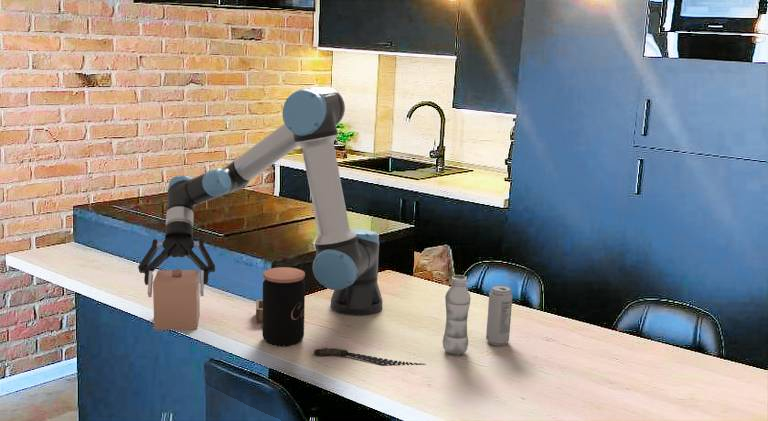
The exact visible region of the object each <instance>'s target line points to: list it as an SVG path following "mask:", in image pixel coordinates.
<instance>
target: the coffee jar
mask: <svg viewBox="0 0 768 421" xmlns="http://www.w3.org/2000/svg"><path fill="white" fill-rule="evenodd" d="M262 276H263V279H264V280H263V282H262V300H263V323H262V331H261V332H262V337H263V340H264V342H265V343H266V344H268V345H270V346H274V347H290V346H291V347H292V346H296V345H298V344H299V343H301V341H302V339H304V336H305V302H306V301H305V297H306V296H305V294H306V290H305V289H306V283H305V280H304V279H305V277H306V273H305V271H304V270H302V269H299V268H295V267H288V266H287V267H283V266H282V267H279V266H278V267H273V268H269V269H268V268H267V269H266V270H264V271H263V272H262Z"/></svg>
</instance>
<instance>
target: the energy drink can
mask: <svg viewBox="0 0 768 421" xmlns="http://www.w3.org/2000/svg"><path fill="white" fill-rule="evenodd" d="M512 307H513V293H512V290H511V287H510V286H506V285H500V284H498V285H493V286H492V287H491V290H490V291H489V293H488V306H487V308H488V309H487V319H486V320H487V321H486V333H485V335H486V336H485V339H486V340H487V343H488V344H489V345H492V346H496V347H503V346H506V345H507V344H508V342H510V334H511V333H510V332H511V321H512V309H513V308H512Z"/></svg>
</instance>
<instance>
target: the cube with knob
mask: <svg viewBox="0 0 768 421" xmlns="http://www.w3.org/2000/svg"><path fill="white" fill-rule="evenodd" d="M153 279H154V280H153V283H152V296H153V297H152V299H153V329H154V330H153V331H163V330H164V331H165V330H167V331H168V330H169V331H171V330H176V331H177V330H197V329H198V325H199V321H200V315H201V309H200V308H201V307H200V306H201V302H200V300H201V295H200V269H179V268H175V269H158V270H157V272H156V274H155V277H154V278H153Z"/></svg>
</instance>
